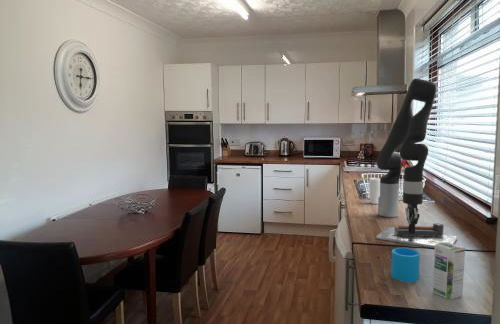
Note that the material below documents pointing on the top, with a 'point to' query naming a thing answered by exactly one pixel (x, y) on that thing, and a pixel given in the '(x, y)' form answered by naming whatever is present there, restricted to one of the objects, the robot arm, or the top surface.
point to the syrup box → (448, 270)
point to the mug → (405, 264)
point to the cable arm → (421, 230)
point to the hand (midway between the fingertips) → (411, 233)
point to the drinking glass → (374, 190)
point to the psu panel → (415, 238)
